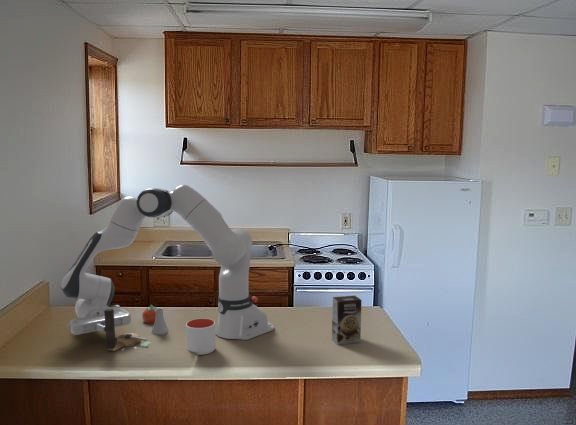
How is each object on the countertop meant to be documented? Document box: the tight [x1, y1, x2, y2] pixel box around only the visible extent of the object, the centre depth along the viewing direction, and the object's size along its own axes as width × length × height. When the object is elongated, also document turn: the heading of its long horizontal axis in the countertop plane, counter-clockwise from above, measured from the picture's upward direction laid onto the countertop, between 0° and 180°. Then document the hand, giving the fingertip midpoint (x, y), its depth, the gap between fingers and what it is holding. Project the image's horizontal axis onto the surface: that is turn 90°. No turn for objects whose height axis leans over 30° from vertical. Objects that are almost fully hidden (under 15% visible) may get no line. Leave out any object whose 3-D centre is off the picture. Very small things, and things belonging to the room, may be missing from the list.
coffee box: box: [331, 294, 362, 346], centre depth 193 cm, size 9×6×16 cm
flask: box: [150, 307, 169, 335], centre depth 198 cm, size 7×7×10 cm
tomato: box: [141, 304, 158, 324], centre depth 210 cm, size 7×7×8 cm
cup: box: [185, 317, 217, 356], centre depth 184 cm, size 10×10×10 cm
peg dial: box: [104, 309, 149, 352], centre depth 184 cm, size 14×12×14 cm
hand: (107, 329), depth 181 cm, fingers closed, pressing on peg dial
